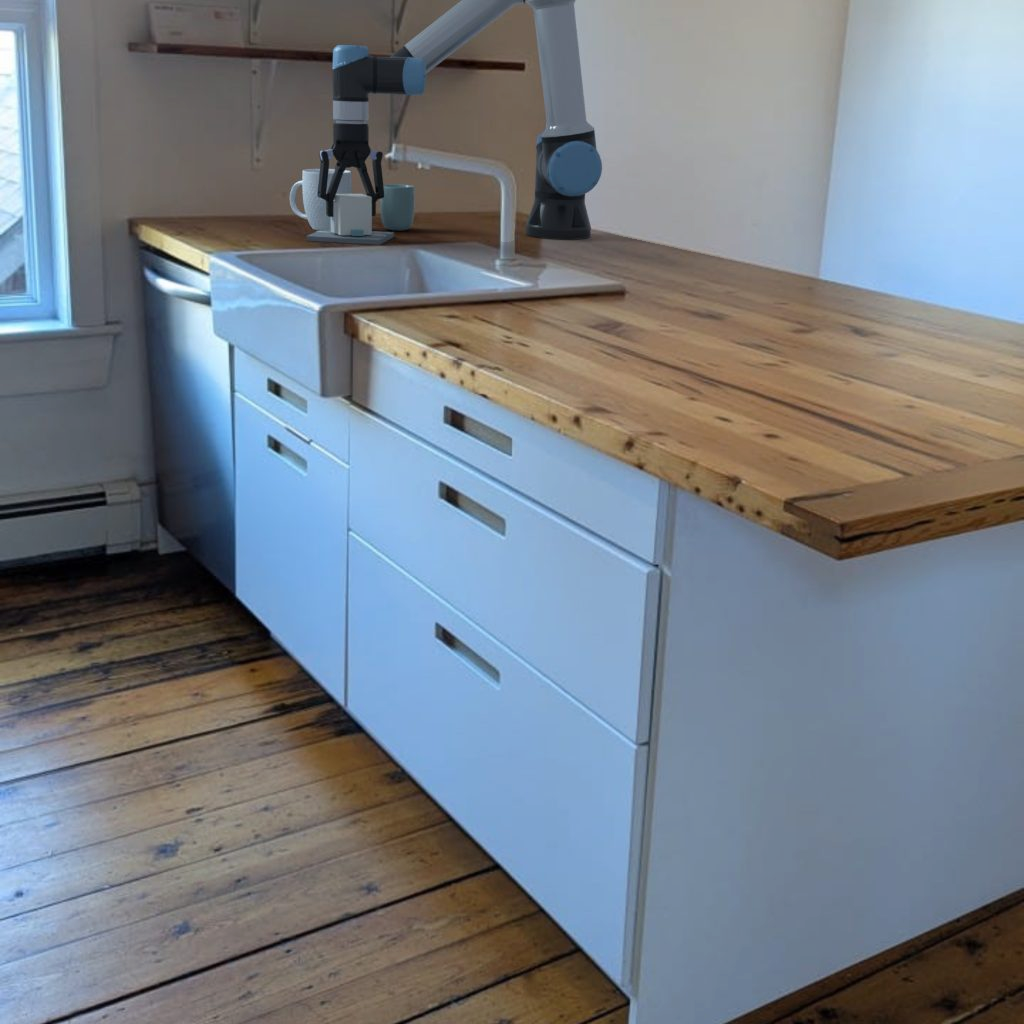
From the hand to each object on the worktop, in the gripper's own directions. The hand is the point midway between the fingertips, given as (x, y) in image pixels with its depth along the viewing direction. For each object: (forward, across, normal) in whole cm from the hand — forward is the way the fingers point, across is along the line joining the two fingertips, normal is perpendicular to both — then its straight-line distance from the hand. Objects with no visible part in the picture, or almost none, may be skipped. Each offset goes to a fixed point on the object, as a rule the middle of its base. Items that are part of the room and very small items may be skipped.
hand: (351, 231), depth 287 cm
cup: (+2, -16, -14) cm, 21 cm away
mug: (+2, +1, -17) cm, 17 cm away
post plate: (+2, 0, 0) cm, 2 cm away
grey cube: (0, 0, 0) cm, 0 cm away
